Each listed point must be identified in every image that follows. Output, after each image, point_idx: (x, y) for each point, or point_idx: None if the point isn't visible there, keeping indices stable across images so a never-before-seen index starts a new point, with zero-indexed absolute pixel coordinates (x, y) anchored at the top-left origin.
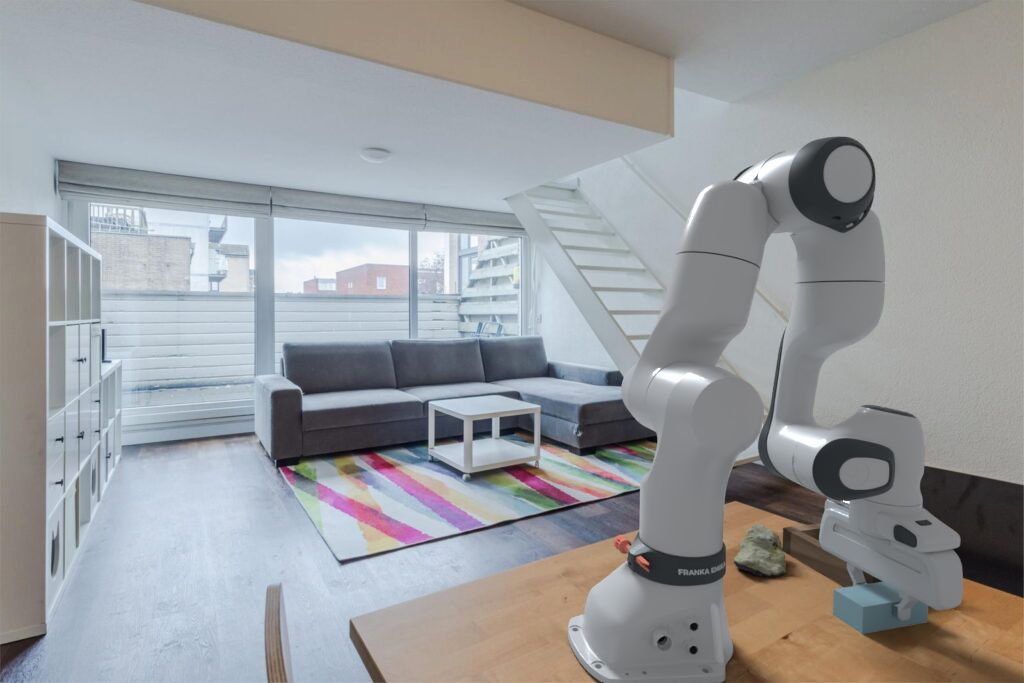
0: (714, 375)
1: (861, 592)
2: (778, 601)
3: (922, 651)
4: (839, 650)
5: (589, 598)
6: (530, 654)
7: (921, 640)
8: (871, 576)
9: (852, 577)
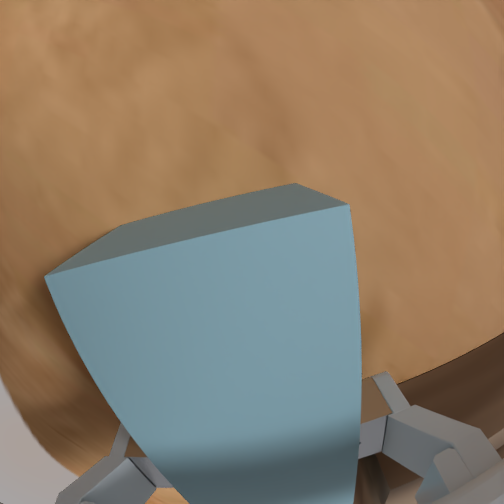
0: None
1: (269, 400)
2: (405, 9)
3: (56, 367)
4: (30, 66)
5: None
6: None
7: None
8: (395, 480)
9: (424, 420)
